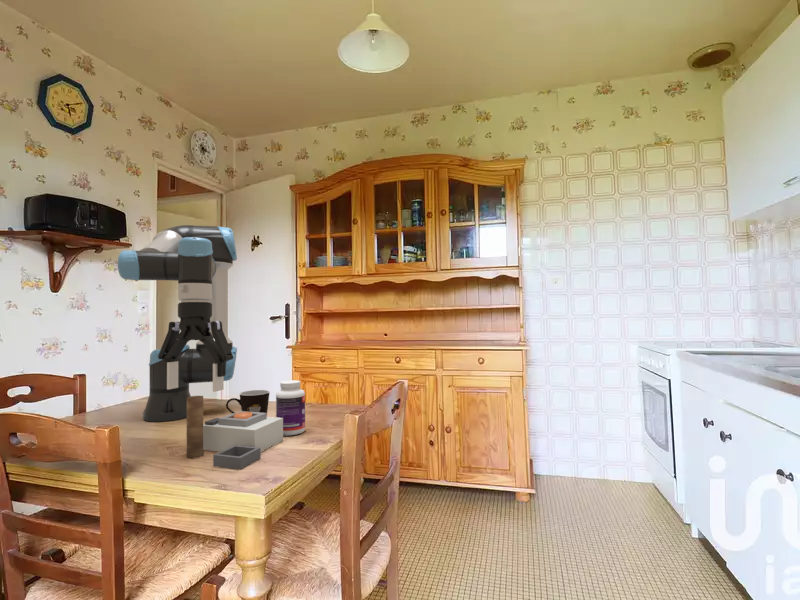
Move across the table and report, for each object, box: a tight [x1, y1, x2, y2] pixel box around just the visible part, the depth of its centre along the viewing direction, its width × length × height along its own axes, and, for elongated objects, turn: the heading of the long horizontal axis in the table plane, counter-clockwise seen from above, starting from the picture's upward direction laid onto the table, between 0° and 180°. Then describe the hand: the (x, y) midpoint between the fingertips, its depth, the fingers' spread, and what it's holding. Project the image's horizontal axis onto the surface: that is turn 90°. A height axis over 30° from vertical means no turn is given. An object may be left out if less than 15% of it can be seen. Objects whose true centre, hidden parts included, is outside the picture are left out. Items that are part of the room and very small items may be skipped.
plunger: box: [234, 411, 252, 419], centre depth 108 cm, size 4×4×3 cm
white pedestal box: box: [203, 410, 284, 453], centre depth 108 cm, size 16×12×8 cm
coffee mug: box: [225, 389, 270, 414], centre depth 127 cm, size 12×9×10 cm
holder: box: [212, 445, 261, 471], centre depth 96 cm, size 7×7×2 cm
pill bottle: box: [275, 379, 306, 437], centre depth 119 cm, size 8×8×14 cm
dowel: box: [186, 395, 204, 459], centre depth 101 cm, size 4×4×14 cm
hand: (194, 389), depth 101 cm, fingers open, 13 cm apart
